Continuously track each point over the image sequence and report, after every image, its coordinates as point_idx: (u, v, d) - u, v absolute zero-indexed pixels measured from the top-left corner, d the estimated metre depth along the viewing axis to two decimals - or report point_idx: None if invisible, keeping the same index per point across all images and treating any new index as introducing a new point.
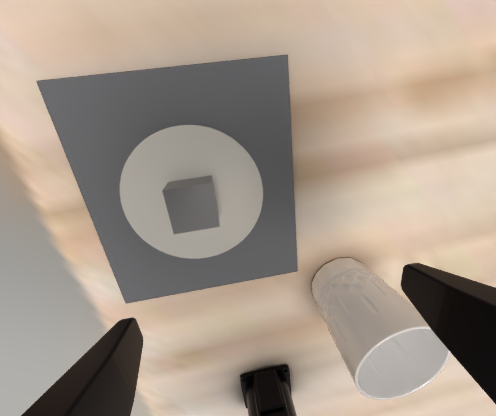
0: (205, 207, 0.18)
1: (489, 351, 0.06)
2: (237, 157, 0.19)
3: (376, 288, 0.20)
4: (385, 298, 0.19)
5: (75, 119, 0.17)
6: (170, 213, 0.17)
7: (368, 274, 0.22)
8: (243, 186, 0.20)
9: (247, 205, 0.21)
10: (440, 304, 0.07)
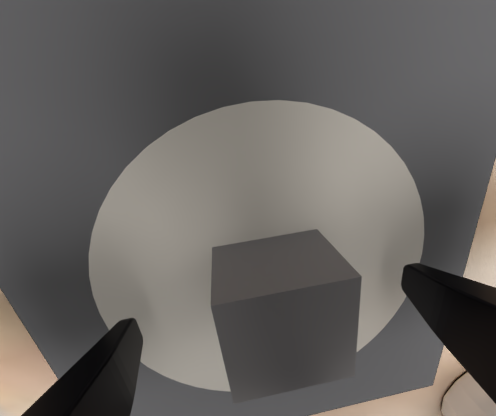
0: (330, 337, 0.06)
1: (489, 351, 0.06)
2: (384, 185, 0.08)
3: None
4: None
5: None
6: (230, 360, 0.06)
7: None
8: (382, 250, 0.09)
9: (381, 289, 0.09)
10: (440, 304, 0.07)
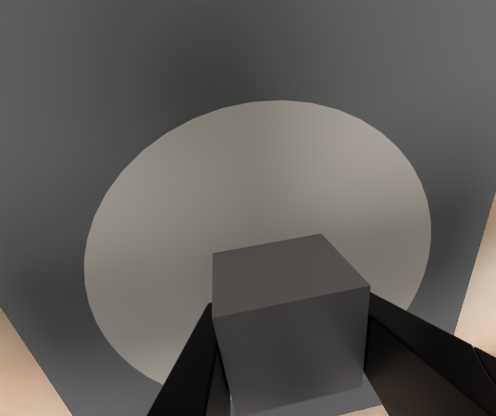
0: (337, 347, 0.06)
1: (391, 374, 0.06)
2: (390, 188, 0.07)
3: None
4: None
5: None
6: (232, 373, 0.06)
7: None
8: (387, 254, 0.08)
9: (386, 294, 0.09)
10: None
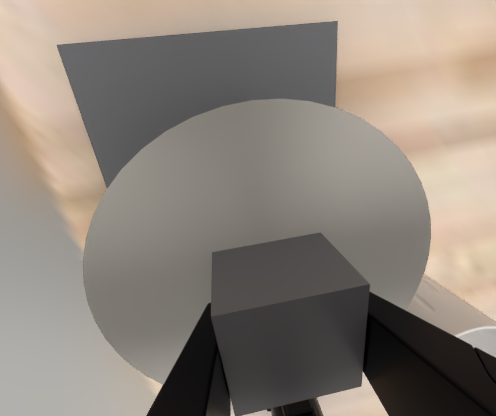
0: (336, 347, 0.06)
1: (391, 374, 0.06)
2: (390, 187, 0.07)
3: (425, 284, 0.19)
4: (438, 294, 0.17)
5: (99, 90, 0.15)
6: (231, 372, 0.06)
7: None
8: (387, 253, 0.08)
9: (386, 293, 0.09)
10: None
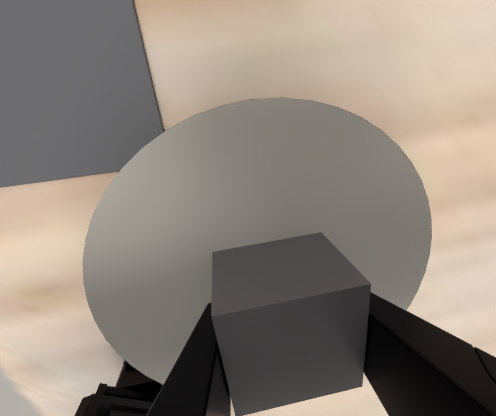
0: (337, 347, 0.06)
1: (391, 374, 0.06)
2: (390, 187, 0.07)
3: None
4: None
5: None
6: (232, 372, 0.06)
7: None
8: (388, 253, 0.08)
9: (387, 293, 0.09)
10: None
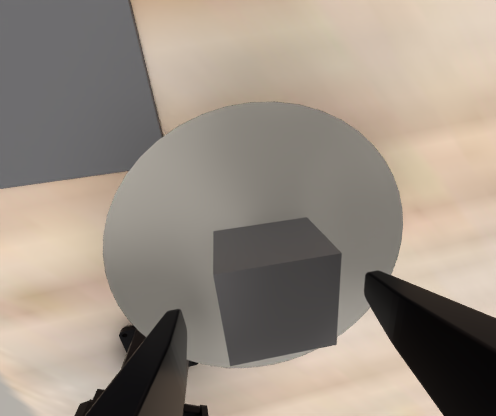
0: (315, 307, 0.07)
1: (438, 363, 0.06)
2: (366, 179, 0.09)
3: None
4: None
5: None
6: (228, 325, 0.07)
7: None
8: (365, 238, 0.10)
9: (364, 274, 0.10)
10: (395, 314, 0.06)
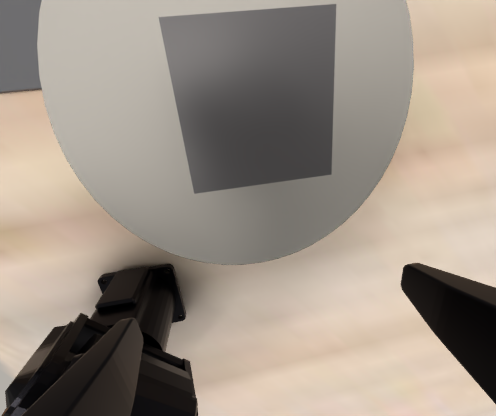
0: (302, 102, 0.05)
1: (489, 351, 0.06)
2: None
3: None
4: None
5: None
6: (186, 118, 0.05)
7: None
8: (367, 84, 0.08)
9: (367, 140, 0.09)
10: (440, 304, 0.07)
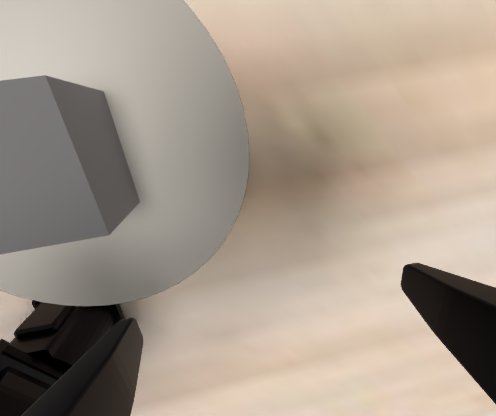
0: (46, 170, 0.05)
1: (489, 351, 0.06)
2: (171, 36, 0.07)
3: None
4: None
5: None
6: None
7: None
8: (196, 127, 0.08)
9: (211, 180, 0.08)
10: (440, 304, 0.07)
